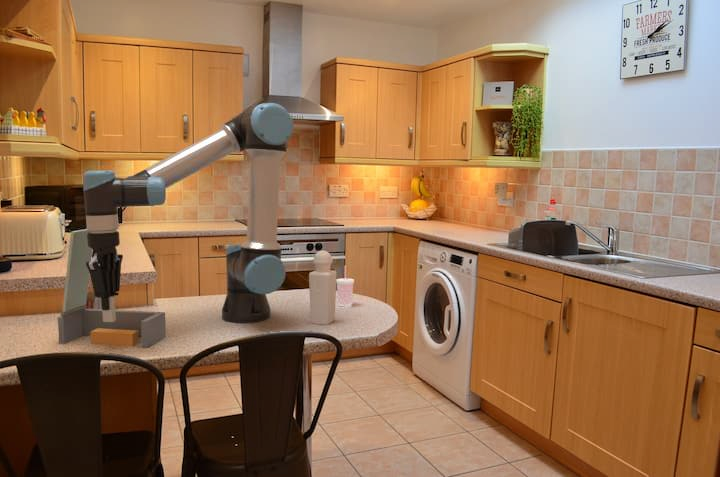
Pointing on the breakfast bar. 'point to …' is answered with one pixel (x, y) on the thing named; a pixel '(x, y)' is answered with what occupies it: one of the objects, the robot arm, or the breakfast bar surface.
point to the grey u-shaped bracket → (113, 324)
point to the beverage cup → (345, 291)
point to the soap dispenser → (322, 289)
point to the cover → (77, 273)
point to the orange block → (115, 337)
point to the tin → (93, 301)
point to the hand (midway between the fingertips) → (109, 321)
